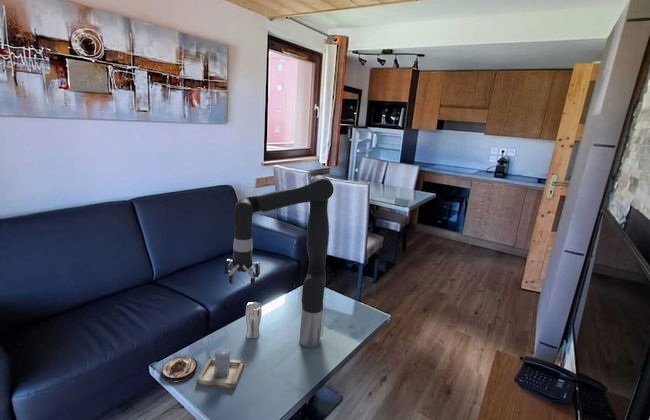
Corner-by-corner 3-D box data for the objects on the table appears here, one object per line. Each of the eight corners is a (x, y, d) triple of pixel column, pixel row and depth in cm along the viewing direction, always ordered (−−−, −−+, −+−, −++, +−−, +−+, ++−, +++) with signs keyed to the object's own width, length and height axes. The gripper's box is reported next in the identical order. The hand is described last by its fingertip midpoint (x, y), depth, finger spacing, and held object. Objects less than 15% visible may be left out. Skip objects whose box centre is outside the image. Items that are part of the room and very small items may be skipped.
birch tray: (244, 366, 132) (244, 361, 131) (234, 389, 120) (234, 383, 120) (209, 362, 133) (209, 357, 132) (196, 384, 121) (196, 379, 120)
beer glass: (256, 341, 148) (258, 311, 144) (242, 338, 149) (243, 308, 145) (262, 332, 154) (264, 303, 150) (248, 329, 155) (249, 300, 152)
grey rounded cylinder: (231, 369, 129) (232, 349, 127) (225, 379, 123) (226, 359, 121) (217, 366, 129) (218, 346, 127) (211, 377, 124) (212, 356, 122)
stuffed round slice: (191, 388, 120) (190, 378, 119) (150, 384, 120) (149, 374, 119) (206, 360, 134) (206, 351, 133) (170, 356, 134) (169, 347, 133)
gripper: (262, 246, 138) (260, 281, 142) (228, 242, 139) (228, 278, 143) (257, 253, 131) (256, 290, 135) (222, 249, 131) (221, 286, 135)
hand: (241, 284), depth 139 cm, fingers open, 8 cm apart
